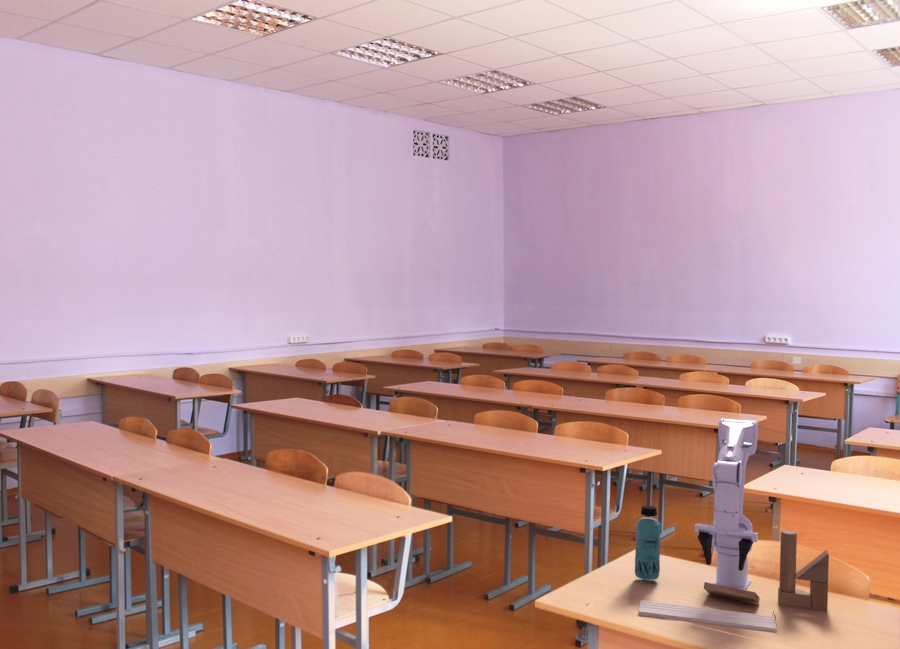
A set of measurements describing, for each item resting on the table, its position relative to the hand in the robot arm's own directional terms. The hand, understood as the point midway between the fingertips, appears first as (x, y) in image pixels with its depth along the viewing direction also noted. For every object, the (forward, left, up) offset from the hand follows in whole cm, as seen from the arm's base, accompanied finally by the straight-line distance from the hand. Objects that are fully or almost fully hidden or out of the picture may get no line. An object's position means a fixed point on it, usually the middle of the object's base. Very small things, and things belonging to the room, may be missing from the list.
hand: (724, 566), depth 189 cm
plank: (-3, +1, -8) cm, 8 cm away
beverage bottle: (-5, -21, -10) cm, 24 cm away
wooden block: (-10, +16, -10) cm, 21 cm away
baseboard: (+8, -2, -10) cm, 14 cm away
